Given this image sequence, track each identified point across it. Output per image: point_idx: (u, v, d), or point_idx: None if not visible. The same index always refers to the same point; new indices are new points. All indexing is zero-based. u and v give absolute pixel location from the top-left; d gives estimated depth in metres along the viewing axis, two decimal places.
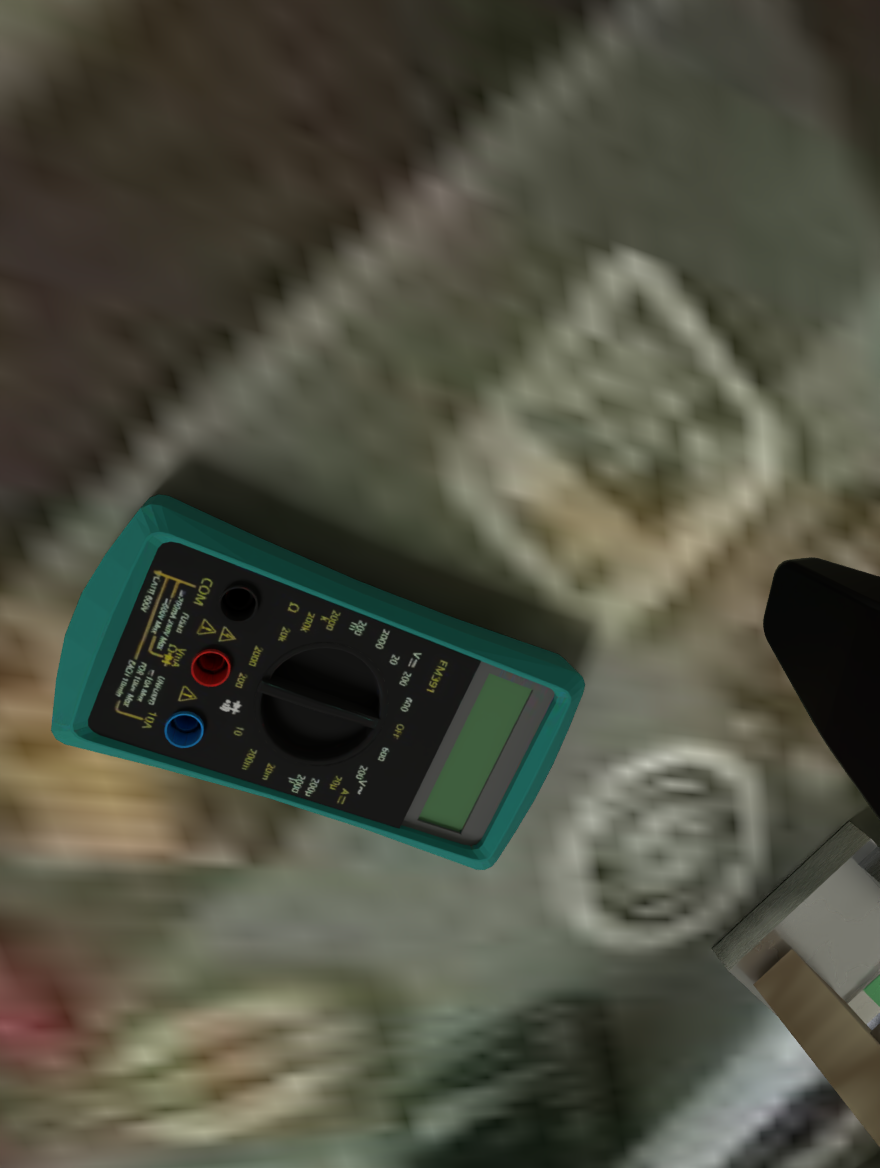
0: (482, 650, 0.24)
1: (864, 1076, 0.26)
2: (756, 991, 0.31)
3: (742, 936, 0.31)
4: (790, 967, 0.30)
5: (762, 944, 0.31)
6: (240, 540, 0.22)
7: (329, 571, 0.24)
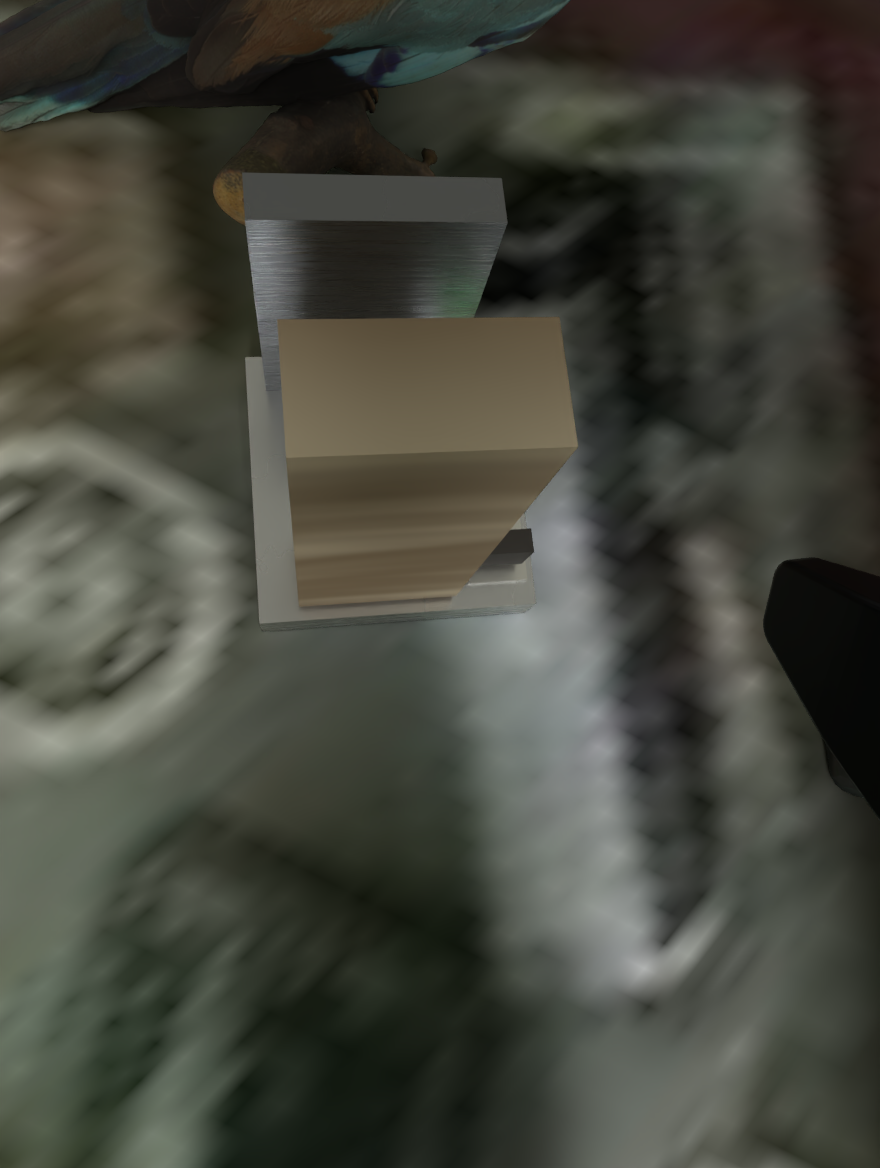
0: None
1: None
2: (329, 612, 0.21)
3: None
4: None
5: (264, 561, 0.21)
6: None
7: None
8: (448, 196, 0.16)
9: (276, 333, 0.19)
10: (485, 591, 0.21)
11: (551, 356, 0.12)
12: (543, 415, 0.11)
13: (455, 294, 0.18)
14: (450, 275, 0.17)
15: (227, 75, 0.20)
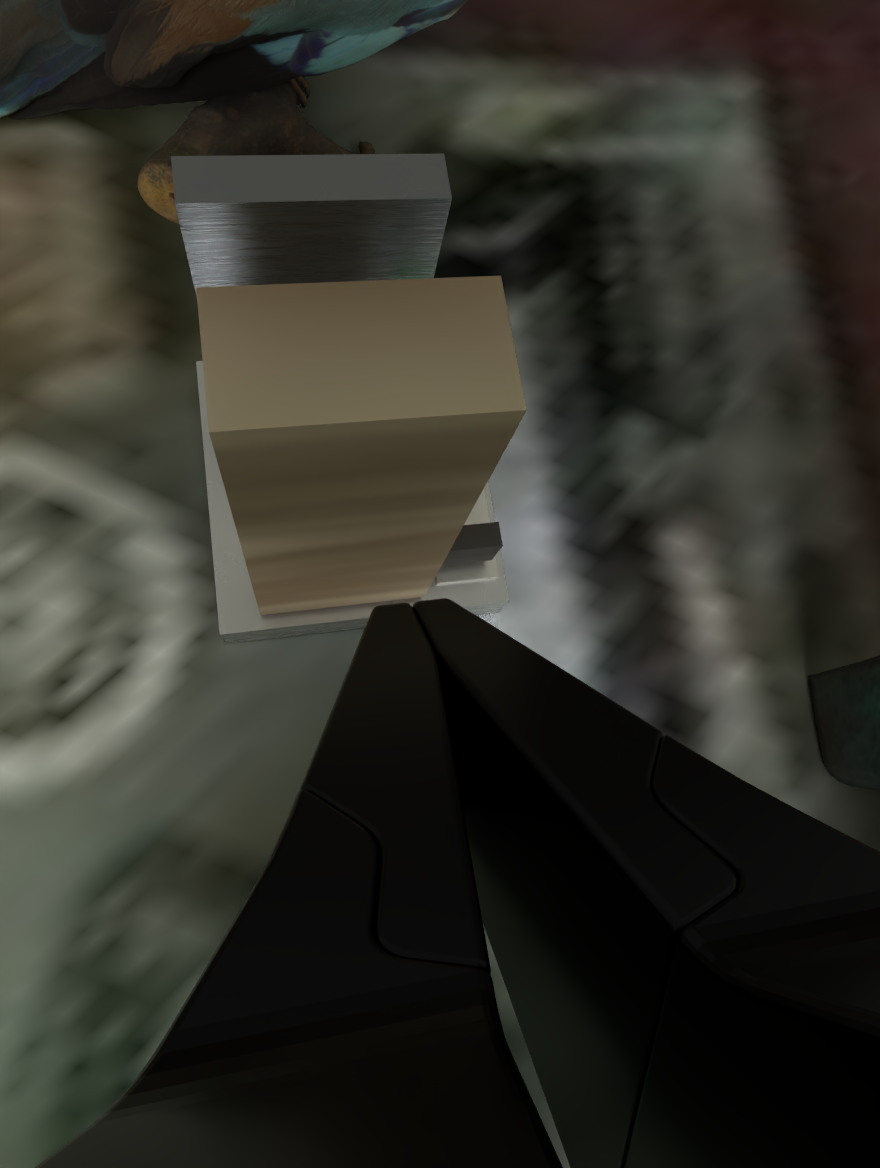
0: None
1: None
2: (293, 620, 0.20)
3: None
4: None
5: (222, 569, 0.20)
6: None
7: None
8: (389, 173, 0.15)
9: None
10: (455, 590, 0.20)
11: (494, 316, 0.11)
12: (487, 378, 0.11)
13: None
14: (398, 260, 0.17)
15: (146, 68, 0.19)
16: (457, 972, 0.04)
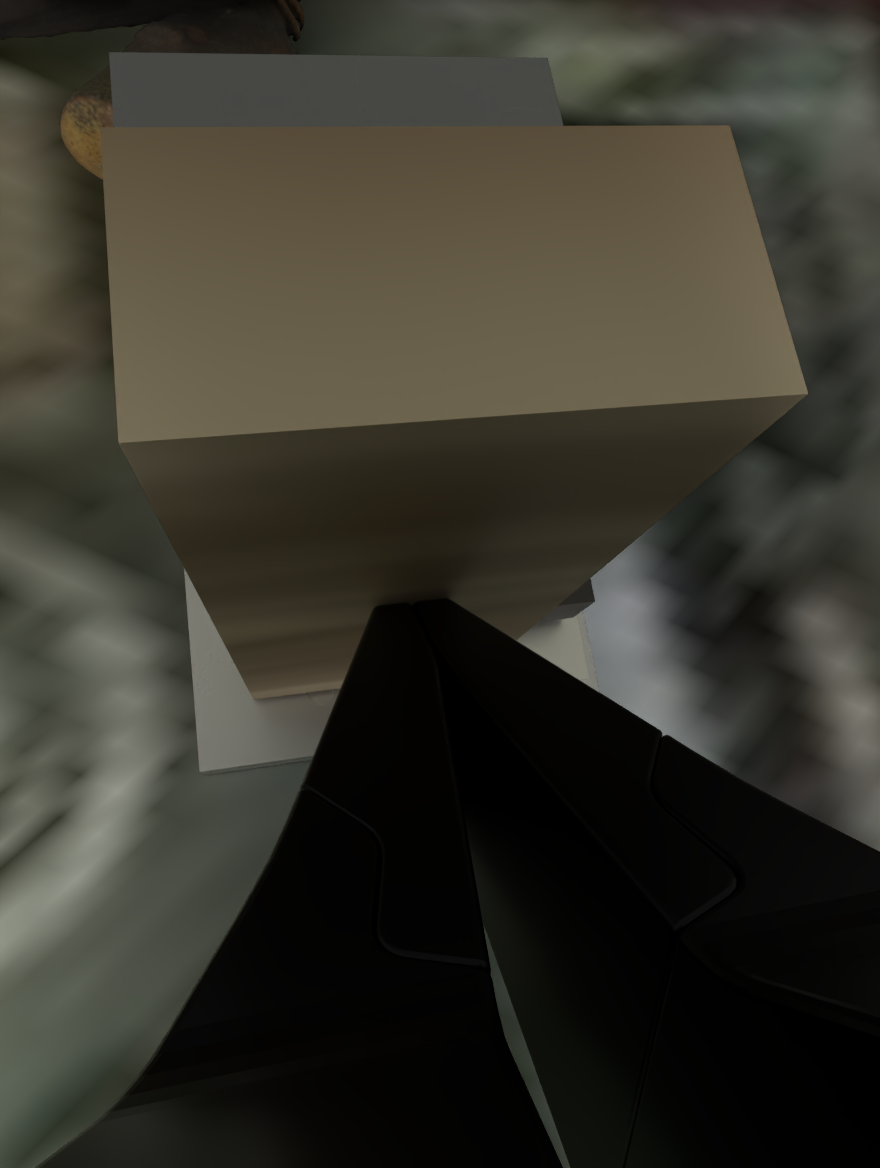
0: None
1: None
2: (304, 747, 0.14)
3: None
4: None
5: (204, 675, 0.14)
6: None
7: None
8: (463, 86, 0.09)
9: None
10: None
11: (723, 204, 0.05)
12: (723, 328, 0.05)
13: None
14: None
15: None
16: (457, 972, 0.04)
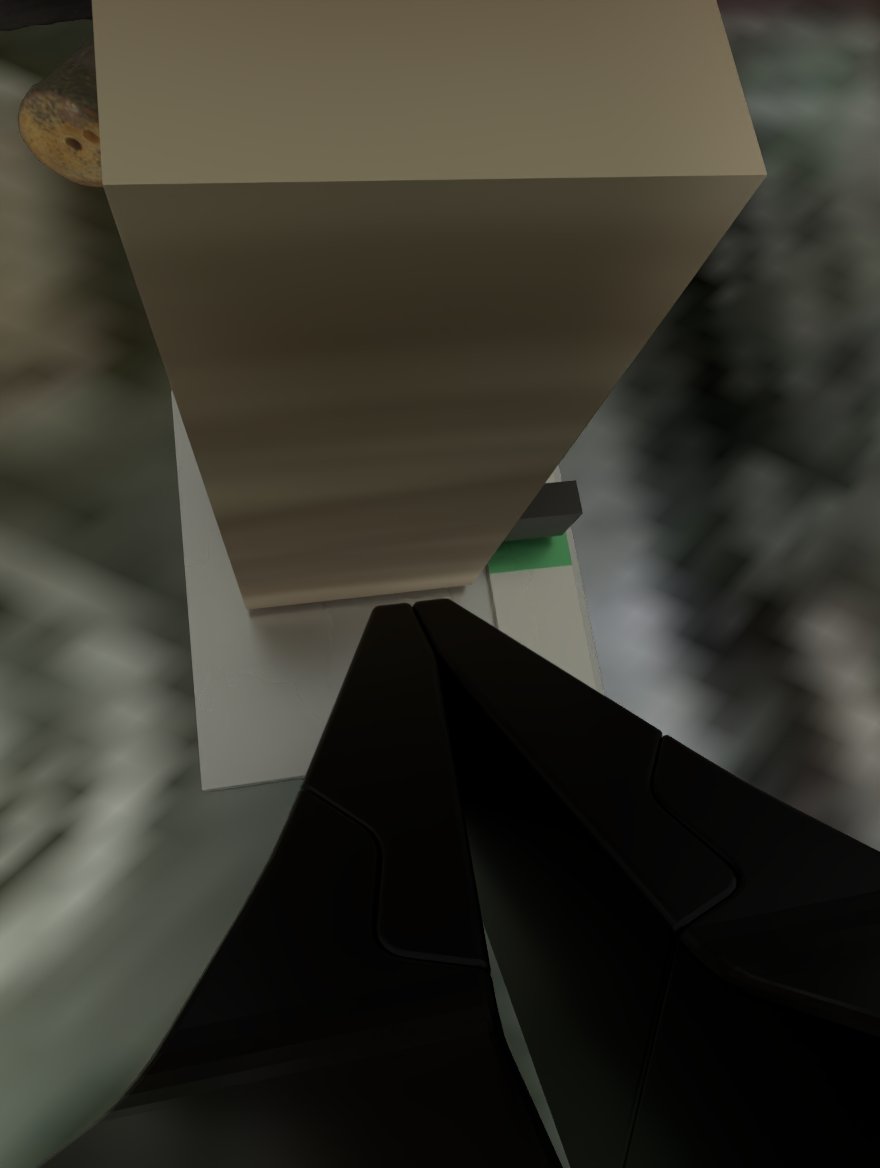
0: None
1: None
2: (308, 765, 0.14)
3: None
4: None
5: (206, 691, 0.14)
6: None
7: None
8: None
9: None
10: None
11: (689, 3, 0.05)
12: (686, 113, 0.05)
13: None
14: None
15: None
16: (457, 972, 0.04)
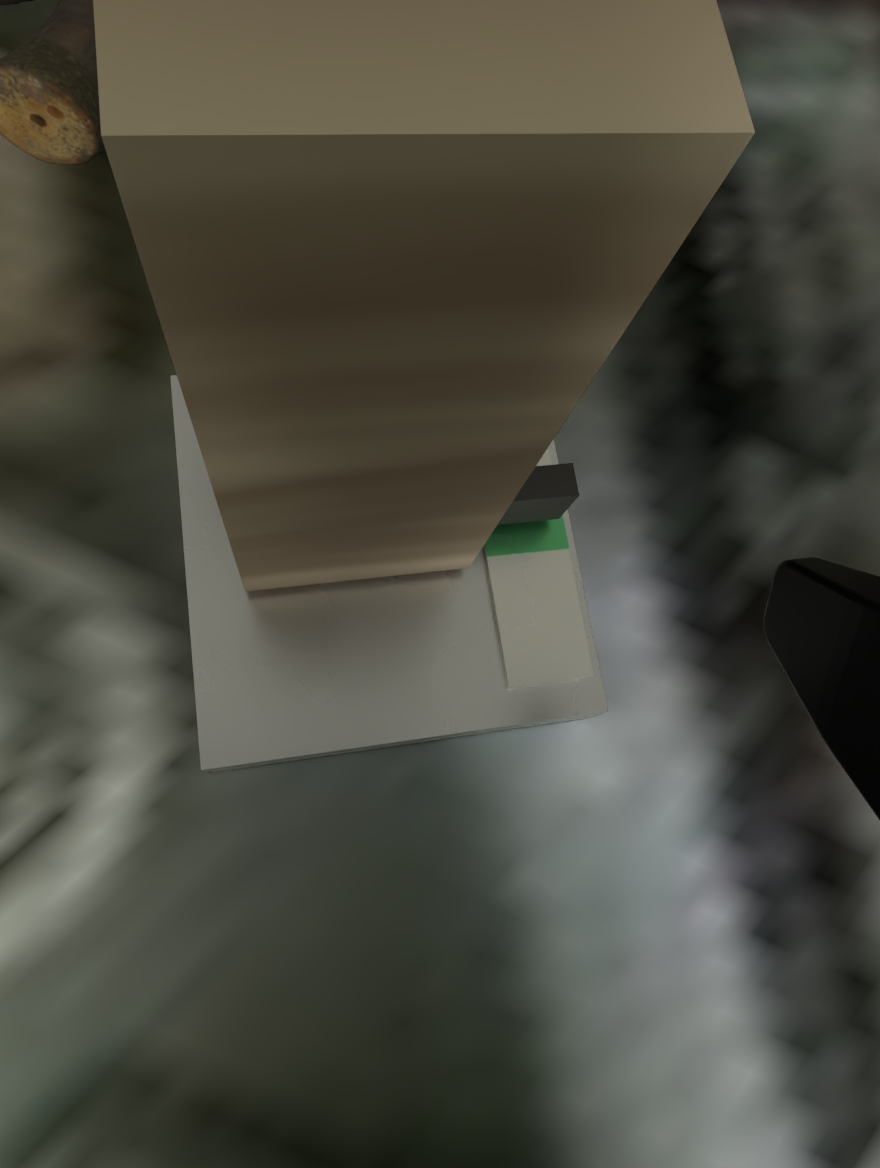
0: None
1: None
2: (306, 746, 0.14)
3: None
4: None
5: (205, 673, 0.14)
6: None
7: None
8: None
9: None
10: (534, 697, 0.15)
11: None
12: (675, 72, 0.05)
13: None
14: None
15: None
16: None
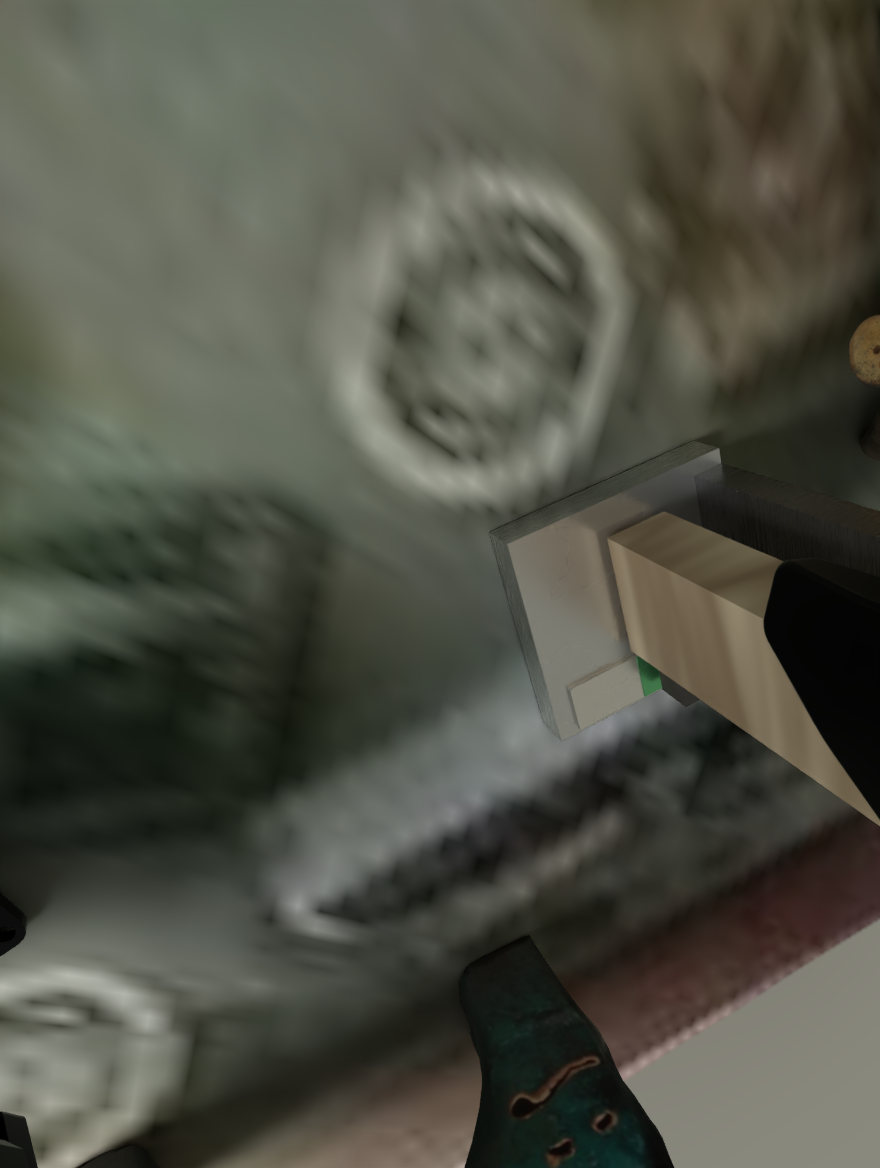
0: None
1: (756, 580, 0.19)
2: (526, 595, 0.23)
3: (534, 520, 0.23)
4: (660, 522, 0.23)
5: (558, 527, 0.23)
6: None
7: None
8: None
9: (766, 513, 0.22)
10: (564, 702, 0.25)
11: None
12: None
13: None
14: None
15: None
16: None
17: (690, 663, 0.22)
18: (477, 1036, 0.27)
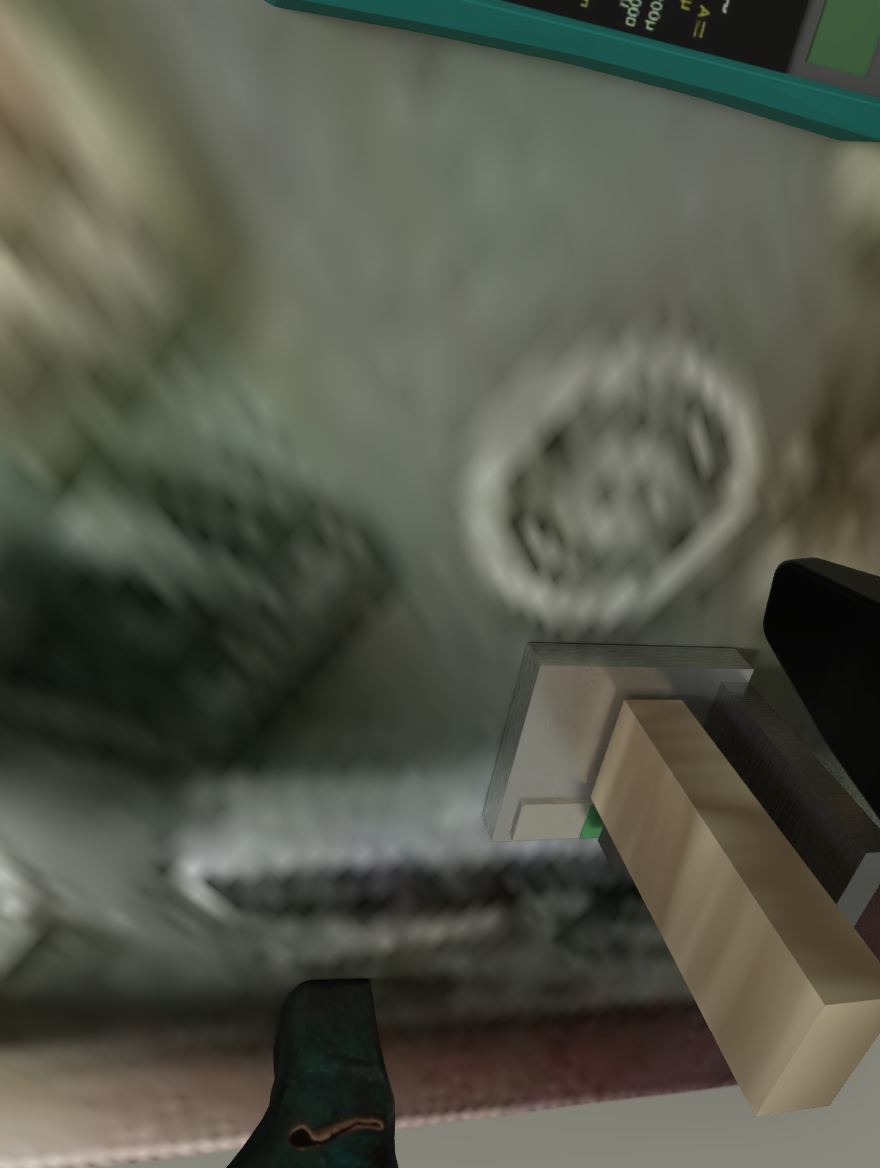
0: None
1: (737, 818, 0.21)
2: (531, 713, 0.25)
3: (571, 653, 0.25)
4: (674, 710, 0.25)
5: (588, 671, 0.24)
6: None
7: None
8: None
9: (768, 754, 0.23)
10: (512, 812, 0.27)
11: (810, 1103, 0.18)
12: (780, 1103, 0.18)
13: None
14: None
15: None
16: None
17: (640, 846, 0.23)
18: (286, 1051, 0.28)
